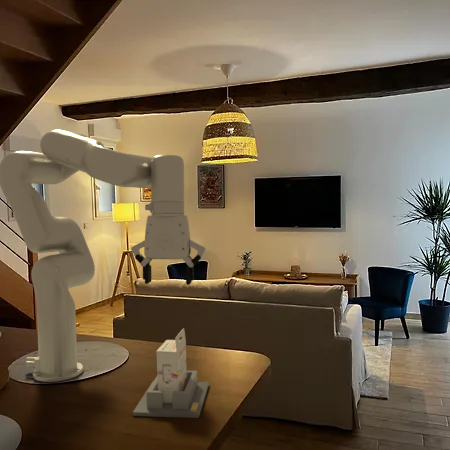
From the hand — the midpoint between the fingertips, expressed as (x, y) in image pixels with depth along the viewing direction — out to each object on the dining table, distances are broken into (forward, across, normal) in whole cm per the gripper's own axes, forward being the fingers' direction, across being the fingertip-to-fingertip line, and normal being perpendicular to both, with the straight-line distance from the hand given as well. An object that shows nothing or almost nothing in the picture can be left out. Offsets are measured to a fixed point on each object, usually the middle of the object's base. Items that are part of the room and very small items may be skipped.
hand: (168, 283), depth 105 cm
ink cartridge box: (+26, +1, -3) cm, 26 cm away
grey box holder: (+26, +2, -3) cm, 26 cm away
